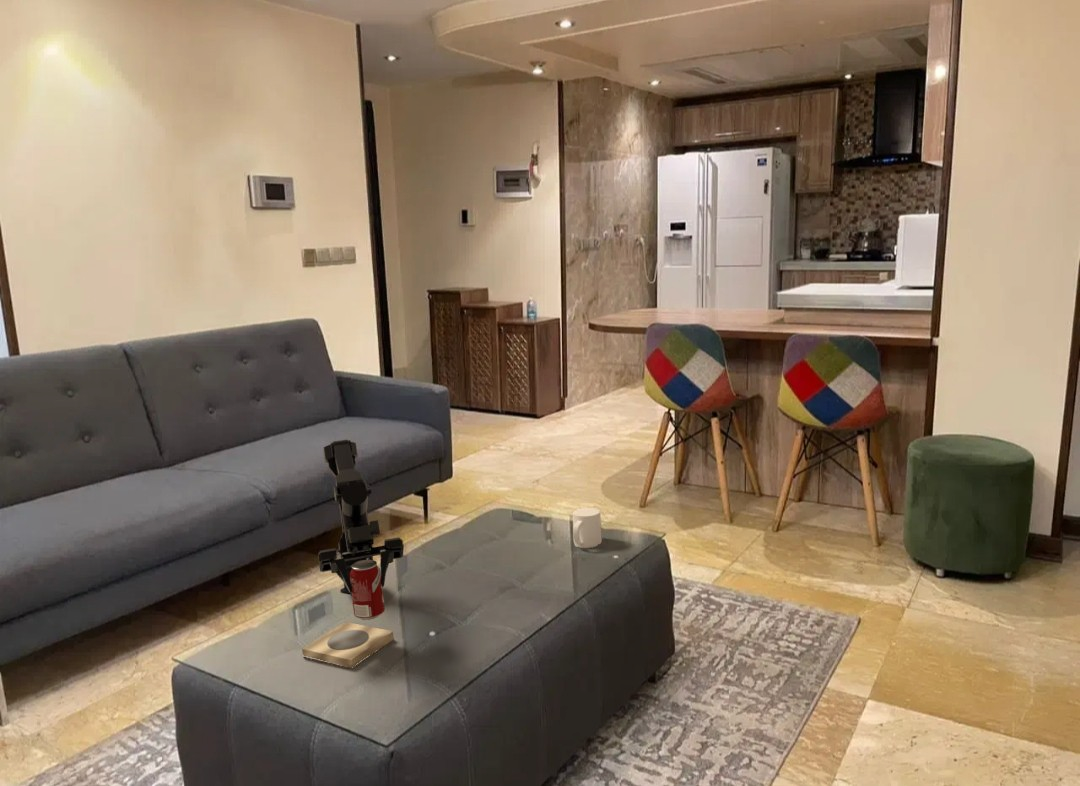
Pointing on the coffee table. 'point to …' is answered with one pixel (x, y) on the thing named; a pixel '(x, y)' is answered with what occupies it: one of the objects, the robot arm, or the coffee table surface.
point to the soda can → (366, 590)
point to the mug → (586, 527)
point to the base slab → (348, 644)
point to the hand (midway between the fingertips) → (367, 589)
